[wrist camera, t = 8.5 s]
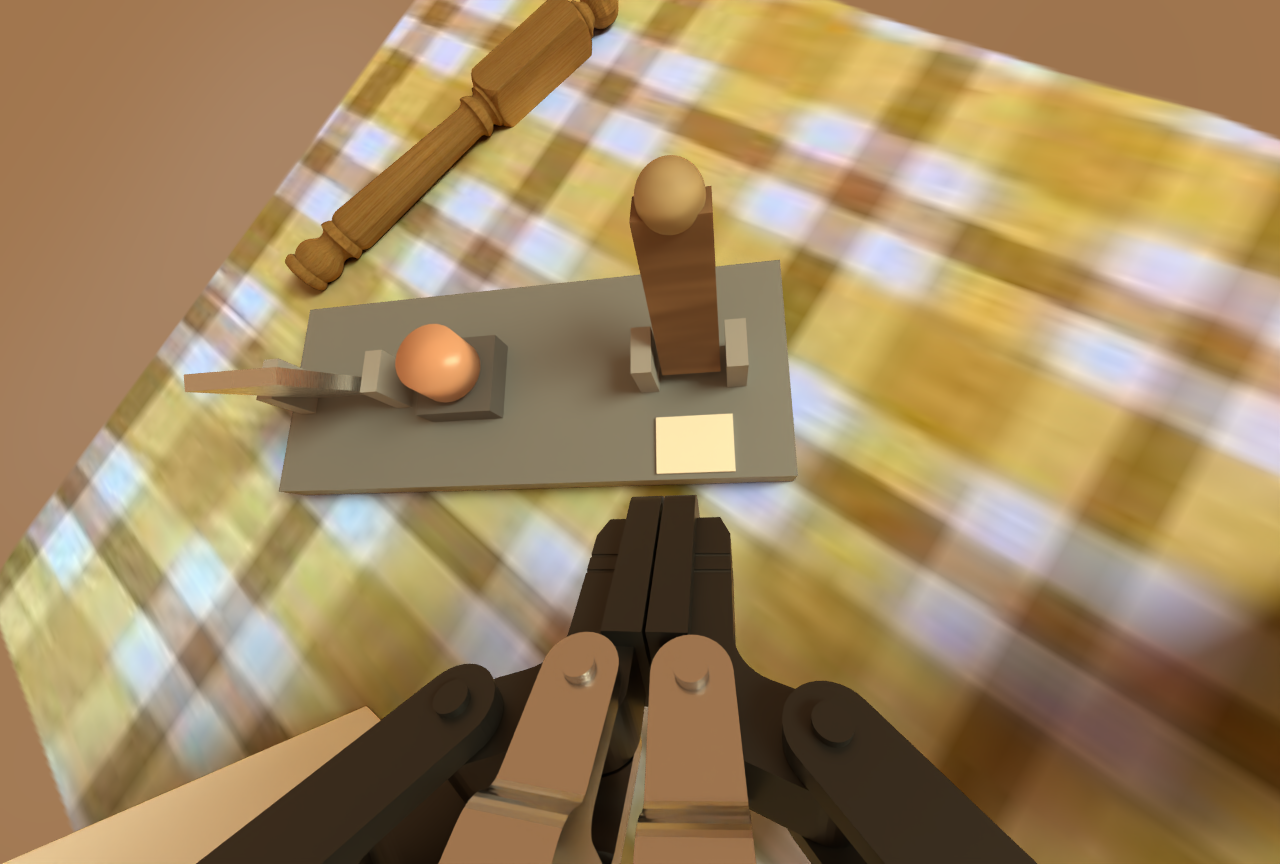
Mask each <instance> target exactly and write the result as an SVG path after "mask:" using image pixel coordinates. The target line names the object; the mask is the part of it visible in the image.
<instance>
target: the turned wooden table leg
mask: <svg viewBox="0 0 1280 864" xmlns="http://www.w3.org/2000/svg"><path fill="white" fill-rule="evenodd" d="M617 15H618V0H580V2H576V1H574V0H572V1H571V2H569V1H568V0H547V1H546V2H545V3H544V4H542V5H541V6H540V7H539V8H538V9H537V10H536V11H535V12H534V13H533V14H532V15H530V16H529V17H528V18H527V19H526V20H525V21H524V22H523V23H522V24H521V25H520V26H518V27H517V28H516V29H515V30H514V31H513V32H512V33H511V34H510V35H509V36H508V37H506V38H505V39H504V40H503V41H502V42H501V43H500V44H499V45H498V46H497V47H496V48H494V49H493V50H492V51H491V52H490V53H489V54H488V55H487V56H486V57H485V58H484V59H482V60H481V61H480V62H479V63H478V64H477V65H476V66H475V67H474V68H473V69H472V73H471V76H472V82H473V86H474V87H473V88H472V92H473V95H472V96H465V97H462V98H461V99H460V101H461V105H460V107H459V109H458V110H456V111H455V112H454V113H453V114H452V115H450V116H449V117H448V118H447V119H446V120H444V121H443V122H442V123H441V124H440V125H438V126H437V127H436V128H435V129H434V130H432V131H431V132H430V133H429V134H428V135H427V136H425V137H424V138H423V139H422V140H421V141H419V142H418V143H417V144H416V145H415V146H413V147H412V148H411V149H410V150H409V151H407V152H406V153H405V154H404V155H403V156H401V157H400V158H399V159H398V160H397V161H395V162H394V163H393V164H392V165H391V166H389V167H388V168H387V169H386V170H385V171H383V172H382V173H381V174H380V175H379V176H377V177H376V178H375V179H374V180H373V181H371V182H370V183H369V184H368V185H367V186H365V187H364V188H363V189H362V190H361V191H360V192H358V193H357V194H356V195H355V196H354V197H352V198H351V199H350V200H349V201H348V202H346V203H345V204H344V205H343V206H342V207H340V208H339V209H338V210H337V211H336V212H335V213H334V215H333V217H332V221H327V222H324V223H323V224H321V226H322V228H323V234H322V236H320V237H319V238H316V239H308V240H305V241H303V242H302V243H300V244H299V246H298V247H297V249H296V252H295V255H294V254H289V255H288V256H287V257H286V260H285V263H286V265H287V266H288V267H289V269H290V270H291V271H292V272H293V273H294V274H295V275H296V276H297V277H299V278H300V279H301V280H302V281H304V282H305V283H306V284H308V285H309V286H311V287H313V288H314V289H317V290H325V289H326V288H327V282H331V281H334V280H336V279H337V278H338V277H339V276H340V275H341V274H342V272H343V267H344V262H345V260H346V259H348V258H350V257H355V258H358V259H359V258H360V256H361V254H362V249H368V248H370V247H372V246H373V245H374V244H375V243H376V242H377V241H378V240H379V239H380V238H381V237H382V236H383V235H384V234H385V233H386V232H387V231H388V230H389V229H390V228H391V227H392V226H393V225H394V224H395V223H396V222H397V221H398V220H399V219H400V218H401V217H402V216H403V215H404V214H405V213H406V212H407V211H408V210H409V209H410V208H411V207H412V206H413V205H414V204H415V203H416V202H417V201H418V199H419V198H420V197H421V196H422V195H423V194H424V193H425V192H426V191H427V190H428V189H429V188H430V187H431V186H432V185H433V184H434V183H435V182H436V181H437V180H438V179H439V178H440V177H441V176H442V175H443V174H444V173H445V172H446V171H447V170H448V169H449V168H450V167H451V166H452V165H453V164H454V163H455V162H456V161H457V160H458V159H459V158H460V157H461V156H462V155H463V154H464V153H465V152H466V151H467V150H468V149H469V148H470V147H471V146H472V145H473V144H474V143H475V142H476V141H477V140H478V139H479V138H480V137H481V136H483V135H486V136H490V135H491V134H492V132H493V125H494V124H496V125H498V126H501V125H504V126H507V127H514V126H515V125H516V124H517V123H518V122H519V121H520V120H522V119H523V118H524V117H525V116H526V115H527V114H528V113H529V112H530V111H531V110H533V109H534V108H535V107H536V106H537V105H538V104H539V103H540V102H541V101H542V100H543V99H545V98H546V97H547V96H548V95H549V94H550V93H551V92H552V91H553V90H554V89H555V88H557V87H558V86H559V85H560V84H561V83H562V82H563V81H564V80H565V79H566V78H567V77H569V76H570V75H571V74H572V73H573V72H574V71H575V70H576V69H577V68H578V67H579V66H581V65H582V64H583V63H584V62H585V61H586V60H587V59H588V58H589V57H590V56H591V55H592V40H591V38H593V30H594V27H595V28H596V29H604V28H606V27H608V26H609V25H611V24H612V23H613V22H614V21H615V19H616V18H617Z"/></svg>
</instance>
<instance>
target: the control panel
mask: <svg viewBox="0 0 1280 864" xmlns="http://www.w3.org/2000/svg"><path fill="white" fill-rule="evenodd" d="M715 269H716V288H717V308H718V327H719V347H720V368H721V371H719V372H704V373H690V374H675V375H662V371H661V366H660V362H659V357H658V352H657V348H656V343H655V339H654V334H653V329H652V325H651V320H650V315H649V311H648V306H647V302H646V297H645V292H644V288H643V283H642V279H641V275H633V276H624V277H614V278H605V279H595V280H586V281H577V282H567V283H558V284H548V285H539V286H530V287H520V288H511V289H502V290H492V291H483V292H473V293H464V294H455V295H445V296H436V297H427V298H417V299H408V300H398V301H389V302H380V303H370V304H361V305H352V306H342V307H333V308H323V309H314V310H310V315H309V321H308V327H307V333H306V338H305V344H304V350H303V356H302V362H301V367H297V366H295V365H293V364H290V363H288V362H286V361H283V360H281V359H269V360H264V363H263V368H269V367H280V368H289V369H298V370H306V371H315V372H323V373H332V374H341V375H349V376H358V377H362V380H361V387H360V393H362V394H364V395H353V396H338V397H324V398H297V397H277V396H257V399H256V400H258V401H262V402H265V403H268V404H271V405H274V406H278V407H281V408H284V409H287V410H290V411H293V413H292V419H291V425H290V431H289V437H288V442H287V448H286V454H285V460H284V465H283V471H282V477H281V483H280V488H279V492H287V493H295V494H302V495H327V494H362V493H397V492H431V491H466V490H501V489H536V488H570V487H605V486H640V485H675V484H709V483H744V482H779V481H793V480H794V479H795V478H796V477H797V476H798V471H797V459H796V447H795V435H794V423H793V411H792V399H791V388H790V376H789V364H788V352H787V340H786V328H785V316H784V304H783V292H782V280H781V269H780V260H774V261H764V262H755V263H745V264H736V265H727V266H717V267H715ZM428 324H440V325H444V326H446V327H448V328H449V329H451V330H452V331H453V332H455V333H456V334H457V335H458V336H460V337H461V338H462V339H463V340H465V341H466V342H467V343H469V344H470V345H471V346H472V347H473V348H474V349H475V350H476V352H477V353H478V356H479V359H480V373H479V377H478V379H477V382H476V383H475V385H474V387H473V388H472V389H471V390H470V391H469V392H468V393H467V394H466V395H465V396H463V397H462V398H460V399H458V400H456V401H452V402H438V401H435V400H433V399H430V398H428V397H426V396H424V395H422V394H420V393H418V392H416V391H414V390H412V389H410V388H408V387H407V386H405V385H404V384H403V383H402V382H401V380H400V379H399V377H398V375H397V372H396V368H395V359H396V354H397V351H398V349H399V347H400V345H401V343H402V342H403V340H404V339H405V338H406V337H407V336H408V335H409V334H410V333H411V332H412V331H414V330H415V329H417V328H419V327H421V326H424V325H428Z"/></svg>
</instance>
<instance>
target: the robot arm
mask: <svg viewBox="0 0 1280 864" xmlns="http://www.w3.org/2000/svg"><path fill="white" fill-rule="evenodd" d="M644 706H646V707H648V729H647V751H646V774H645V795H644V805H643V810H642V813H641V814H640V816H639V818H638V822H637V828H636V835H635V845H634V860H633V864H756V859H755V850H754V842H753V833H752V825H751V818H750V812H749V809H751V810H752V811H754V812H756V813H758V814H760V815H762V816H764V817H766V818H768V819H770V820H772V821H774V822H776V823H778V824H780V825H782V826H784V827H786V828H788V830H789V832H790V834H791V835H792V837H793V838H794V840H795V841H796V843H797V844H798V845H799V847H800V848H801V850H802V851H803V852H804V854H805V855H806V857H807V858H808V859H809V861H810V862H811V864H1037V863H1036V862H1035V861H1034V860H1033V859H1032V858H1031V857H1030V856H1029V855H1028V854H1027V853H1025V852H1024V851H1023V850H1022V849H1021V848H1020V847H1019V846H1018V845H1017V844H1016V843H1015V842H1014V841H1013V840H1012V839H1011V838H1010V837H1009V836H1008V835H1007V834H1005V833H1004V832H1003V831H1002V830H1001V829H1000V828H999V827H998V826H997V825H996V824H995V823H994V822H993V821H992V820H991V819H990V818H989V817H988V816H987V815H985V814H984V813H983V812H982V811H981V810H980V809H979V808H978V807H977V806H976V805H975V804H974V803H973V802H972V801H971V800H970V799H969V798H968V797H967V796H966V795H964V794H963V793H962V792H961V791H960V790H959V789H958V788H957V787H956V786H955V785H954V784H953V783H952V782H951V781H950V780H949V779H948V778H947V777H946V776H944V775H943V774H942V773H941V772H940V771H939V770H938V769H937V768H936V767H935V766H934V765H933V764H932V763H931V762H930V761H929V760H928V759H927V758H926V757H925V756H923V755H922V754H921V753H920V752H919V751H918V750H917V749H916V748H915V747H914V746H913V745H912V744H911V743H910V742H909V741H908V740H907V739H906V738H905V737H903V736H902V735H901V734H900V733H899V732H898V731H897V730H896V729H895V728H894V727H893V726H892V725H891V724H890V723H889V722H888V721H887V720H886V719H885V718H884V717H882V716H881V715H880V714H879V713H878V712H877V711H876V710H875V709H874V708H873V707H872V706H871V705H870V704H869V703H868V702H867V701H866V700H865V699H863V698H862V697H861V696H860V695H859V694H857V693H856V692H854V691H853V690H851V689H849V688H847V687H845V686H843V685H840V684H837V683H834V682H828V681H814V682H809V683H806V684H803V685H801V686H800V687H798V688H796V689H794V688H791V687H788V686H786V685H783V684H780V683H778V682H775V681H772V680H770V679H768V678H765V677H763V676H761V675H760V674H758V673H757V672H755V671H754V670H753V669H752V668H750V667H749V666H748V665H747V664H746V663H745V661H744V660H743V659H742V657H741V656H740V654H739V652H738V650H737V648H736V640H735V612H734V585H733V568H732V553H731V538H730V533H729V531H728V529H727V528H726V526H725V524H724V523H723V521H722V519H721V518H720V517H709V518H700V517H699V507H698V499H697V495H679V496H665V498H664V496H648V497H632V498H631V501H630V505H629V509H628V514H627V518H626V519H611V520H610V521H609V522H608V523H607V524H606V525H605V527H604V528H603V529H602V530H601V531H600V533H599V534H598V535H597V538H596V541H595V544H594V548H593V551H592V558H590V562H589V565H588V568H587V573H586V575H585V579H584V582H583V585H582V589H581V592H580V596H579V599H578V602H577V606H576V609H575V613H574V616H573V619H572V623H571V626H570V630H569V632H568V635H567V637H566V638H564V639H562V640H561V641H559V642H558V643H557V644H556V645H555V646H554V647H553V648H552V649H551V650H550V651H549V653H548V654H547V656H546V657H545V659H544V661H543V663H541V664H539V665H537V666H535V667H532V668H530V669H527V670H523V671H520V672H516V673H513V674H509V675H506V676H502V677H499V678H495V679H493V677H492V675H491V674H490V672H489V671H488V670H487V669H486V668H484V667H482V666H480V665H477V664H463V665H459V666H455V667H453V668H450V669H448V670H447V671H445V672H443V673H442V674H440V675H439V676H437V677H436V678H435V679H433V680H432V681H431V682H430V683H428V684H427V685H426V686H424V687H423V688H422V689H420V690H419V691H418V692H417V693H415V694H414V695H413V696H411V697H410V698H409V699H408V700H406V701H405V702H404V703H402V704H401V705H400V706H399V707H397V708H396V709H395V710H393V711H392V712H391V713H390V714H388V715H387V716H386V717H384V718H383V719H382V720H380V721H379V722H378V723H377V724H375V725H374V726H373V727H371V728H370V729H369V730H368V731H366V732H365V733H364V734H362V735H361V736H360V737H359V738H357V739H356V740H355V741H353V742H352V743H351V744H350V745H348V746H347V747H346V748H344V749H343V750H342V751H340V752H339V753H338V754H337V755H335V756H334V757H333V758H331V759H330V760H329V761H328V762H326V763H325V764H324V765H322V766H321V767H320V768H319V769H317V770H316V771H315V772H313V773H312V774H311V775H310V776H308V777H307V778H306V779H304V780H303V781H302V782H301V783H299V784H298V785H297V786H295V787H294V788H293V789H291V790H290V791H289V792H288V793H286V794H285V795H284V796H282V797H281V798H280V799H279V800H277V801H276V802H275V803H273V804H272V805H271V806H270V807H268V808H267V809H266V810H264V811H263V812H262V813H261V814H259V815H258V816H257V817H255V818H254V819H253V820H251V821H250V822H249V823H248V824H246V825H245V826H244V827H242V828H241V829H240V830H239V831H237V832H236V833H235V834H233V835H232V836H231V837H230V838H228V839H227V840H226V841H224V842H223V843H222V844H221V845H219V846H218V847H217V848H215V849H214V850H213V851H212V852H210V853H209V854H208V855H206V856H205V857H204V858H202V859H201V860H200V861H199V862H197V863H196V864H620V862H621V857H622V851H623V846H624V841H625V835H626V830H627V825H628V820H629V814H630V809H631V804H632V799H633V793H634V788H635V783H636V778H637V772H638V767H639V762H640V756H641V750H642V740H641V730H642V722H643V714H644Z"/></svg>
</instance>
